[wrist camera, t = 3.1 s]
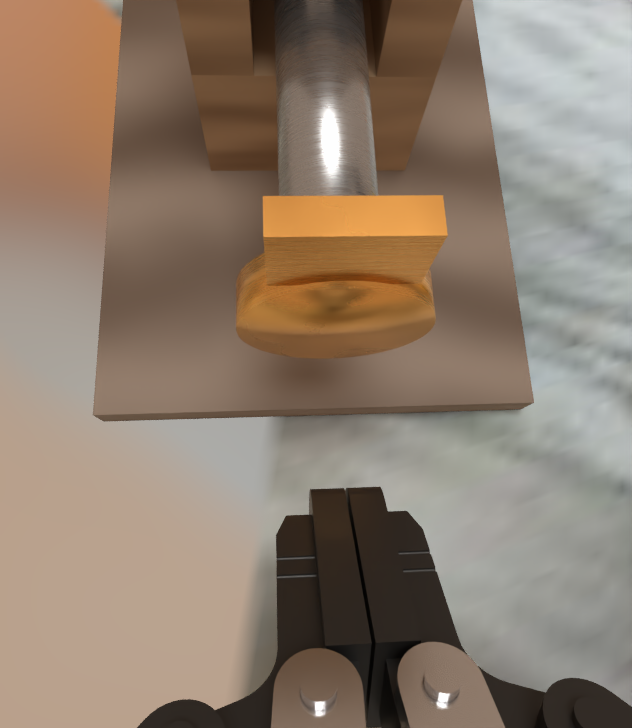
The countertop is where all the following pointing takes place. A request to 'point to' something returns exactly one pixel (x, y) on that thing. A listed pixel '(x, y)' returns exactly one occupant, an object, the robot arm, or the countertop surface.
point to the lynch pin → (334, 207)
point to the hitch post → (260, 178)
